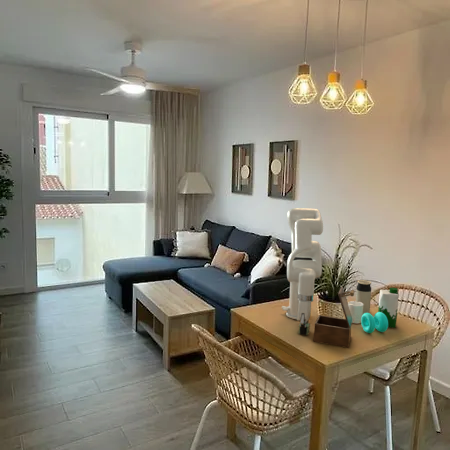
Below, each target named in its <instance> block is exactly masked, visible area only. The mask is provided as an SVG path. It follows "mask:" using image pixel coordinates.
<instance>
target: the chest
mask: <svg viewBox="0 0 450 450" xmlns="http://www.w3.org/2000/svg"><path fill="white" fill-rule="evenodd" d="M352 324H353V323H351V325H352ZM313 329H314V331H313V342H315V343H320V344H325V345H331V346H337V347H343V348H349V346H350V343H351V338H352V326H351V327H350V328H348V325H347V322H346V318H342V317H341V318H340V317H334V316H327V315H322V314H318V316H317V318H316V321H315V322H314V327H313Z"/></svg>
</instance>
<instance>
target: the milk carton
mask: <svg viewBox="0 0 450 450" xmlns="http://www.w3.org/2000/svg"><path fill="white" fill-rule="evenodd" d="M399 297H400V295H399V288H397V287H389V289H380V290H379V297H378V309H377V312H382V313H384V314H385V316H386V317H387V320H388V328H391V329H392V328H393V329H396V327H397V320H398V309H399V308H398V307H399Z"/></svg>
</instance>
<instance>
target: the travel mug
mask: <svg viewBox="0 0 450 450" xmlns="http://www.w3.org/2000/svg"><path fill="white" fill-rule="evenodd" d="M371 284H372V282H371V280H366V279H359V280H357V285H356V290H355V301H357V302H361V303H363V304H364V305H363V313H362V315H363V314H364V313H370V314H371V301H372V300H371V298H372V286H371Z"/></svg>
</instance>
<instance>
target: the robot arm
mask: <svg viewBox="0 0 450 450" xmlns="http://www.w3.org/2000/svg"><path fill="white" fill-rule="evenodd" d="M287 224H288V226H289V229H290V234H291V252H290V254H289V255H288V258H287V261H286V278H287V281H288V282H289V299H288V300H289V301H288V302H289V304H288V305H287V306H285V305H281V310H282V311H283V312H285V316H286V317H288V318H290V319H293V320H297V321H298V322H299V321H300V323H299V324H300V334H299V335H302V336H307V335H306V333H307V327H306V323H310V322H309V321H310V318H311V313H312V303H313V302H314V300H315V299H314V296H315V280H316V279H318V278H320V277H321V276H322V273H323V263H322V262H323V261H322V245H321V243H320V242H319V241H317V240H313V239H312V237H313V236H321V235H322V234H323V232H324V222H323V218H322V215H321V212H320V210H319V209H318V208H303V207H295V208H291V209H289V210H288V211H287ZM296 258H301V259H296Z"/></svg>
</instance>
